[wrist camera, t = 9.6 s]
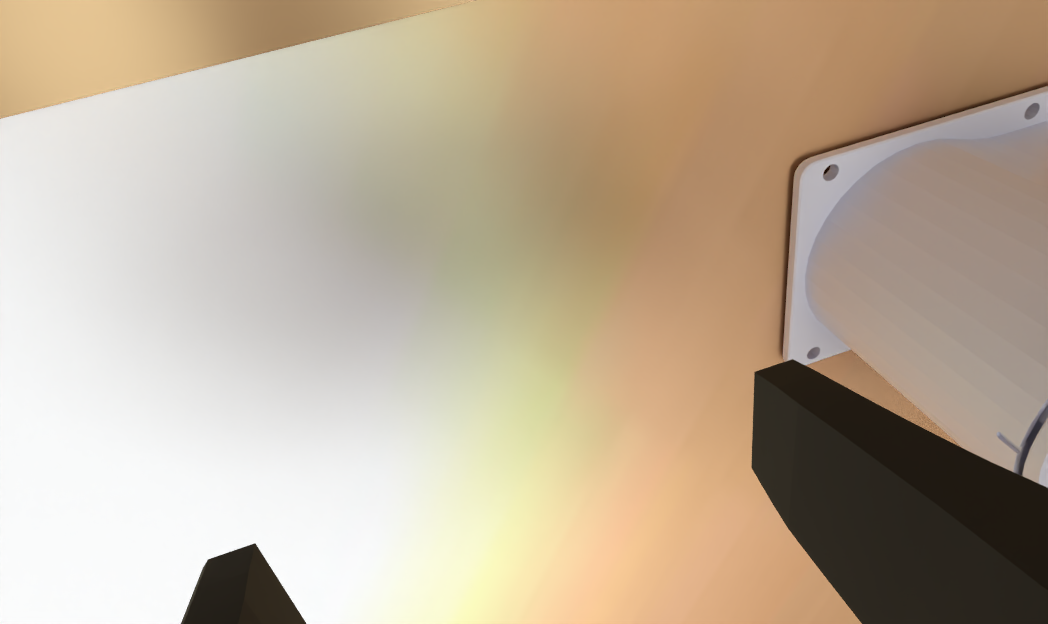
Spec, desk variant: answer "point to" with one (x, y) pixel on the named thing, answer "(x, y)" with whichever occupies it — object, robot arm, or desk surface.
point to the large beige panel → (159, 39)
